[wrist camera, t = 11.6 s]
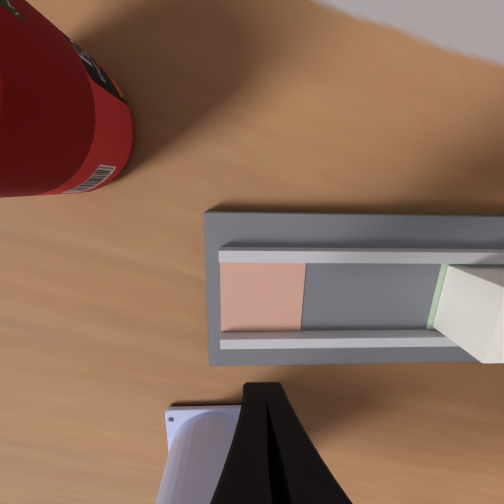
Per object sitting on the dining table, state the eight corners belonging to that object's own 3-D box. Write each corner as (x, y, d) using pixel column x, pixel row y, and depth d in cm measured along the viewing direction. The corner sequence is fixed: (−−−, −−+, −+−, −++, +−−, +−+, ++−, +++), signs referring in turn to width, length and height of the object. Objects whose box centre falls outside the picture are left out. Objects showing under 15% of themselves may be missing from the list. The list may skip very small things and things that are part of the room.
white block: (493, 326, 19) (558, 362, 15) (432, 326, 19) (482, 363, 15) (513, 265, 18) (590, 288, 14) (448, 265, 17) (507, 288, 14)
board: (505, 351, 21) (543, 375, 19) (210, 355, 20) (206, 382, 17) (553, 216, 18) (608, 221, 15) (206, 210, 17) (199, 215, 14)
